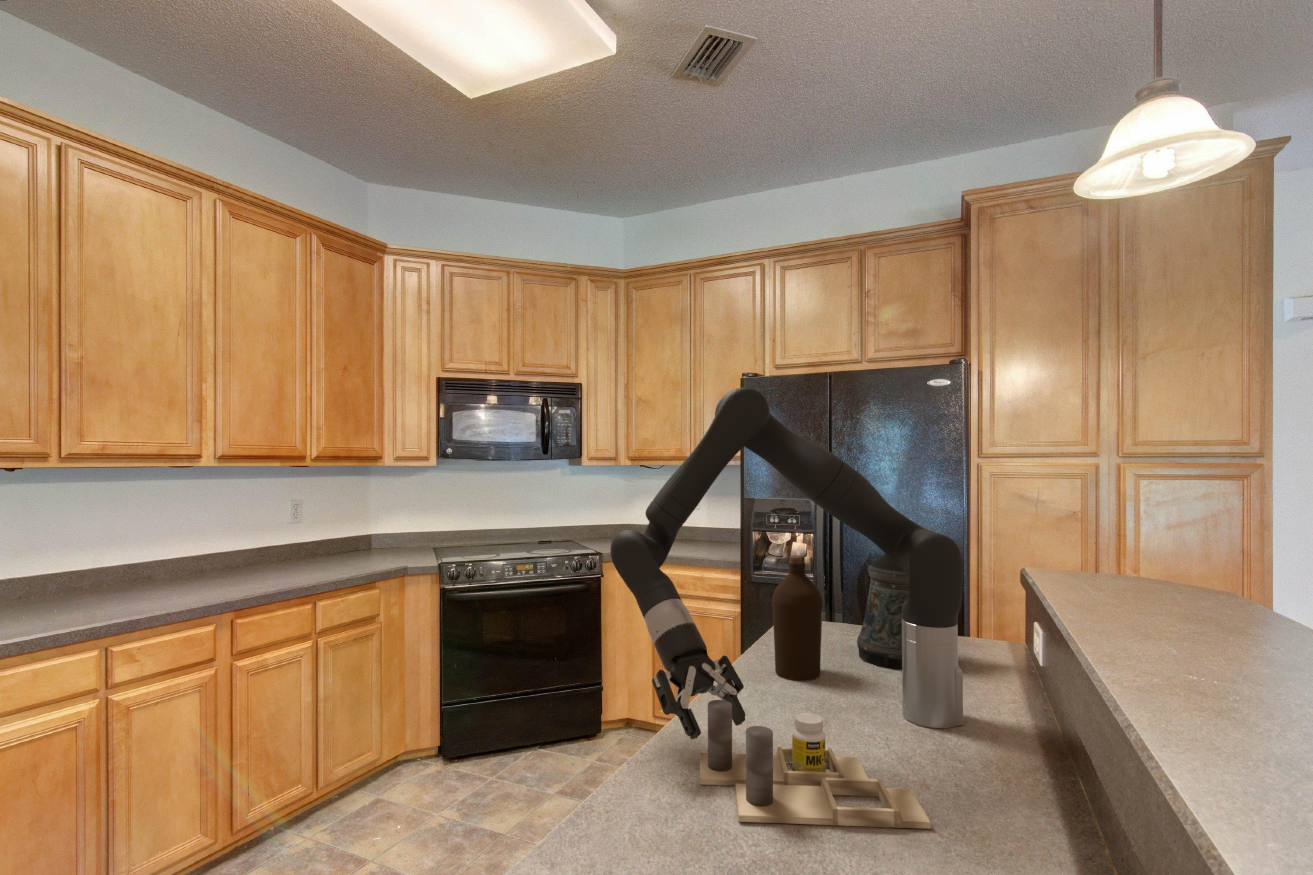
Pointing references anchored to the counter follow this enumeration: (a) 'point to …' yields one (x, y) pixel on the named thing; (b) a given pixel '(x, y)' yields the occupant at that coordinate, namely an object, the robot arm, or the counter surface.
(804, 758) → the supplement bottle
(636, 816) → the counter surface
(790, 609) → the olive oil
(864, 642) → the beer stein
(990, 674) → the counter surface
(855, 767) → the wooden rack with post
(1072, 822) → the counter surface
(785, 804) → the empty strip
